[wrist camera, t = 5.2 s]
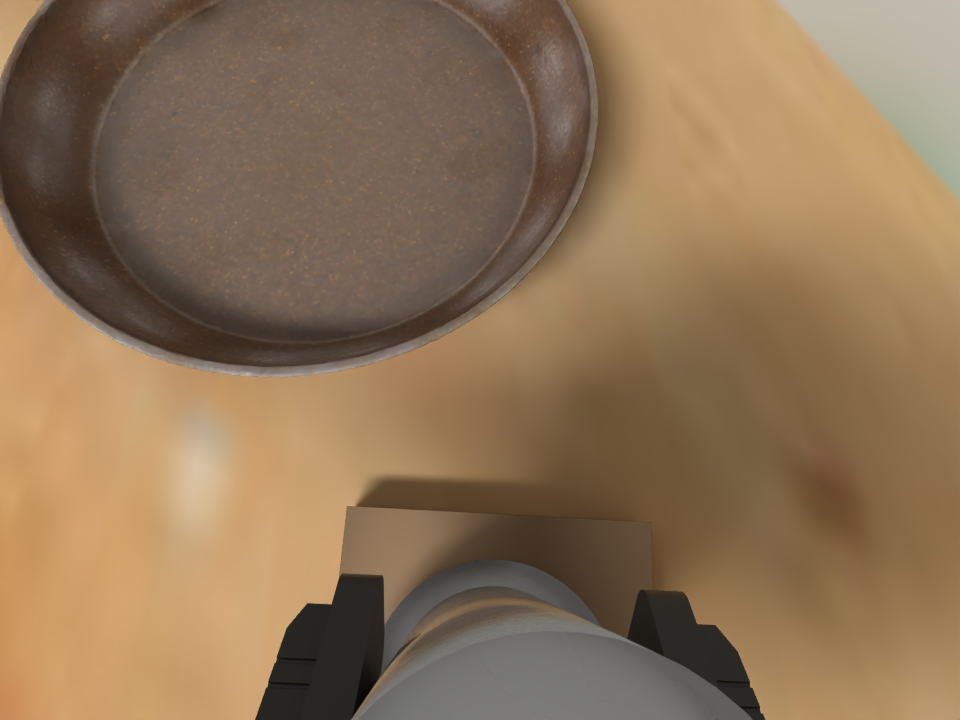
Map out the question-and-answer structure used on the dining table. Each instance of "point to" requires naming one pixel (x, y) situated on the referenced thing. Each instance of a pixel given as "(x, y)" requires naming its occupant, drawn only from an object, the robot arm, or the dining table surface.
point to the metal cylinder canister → (523, 657)
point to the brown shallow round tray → (291, 169)
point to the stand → (503, 553)
